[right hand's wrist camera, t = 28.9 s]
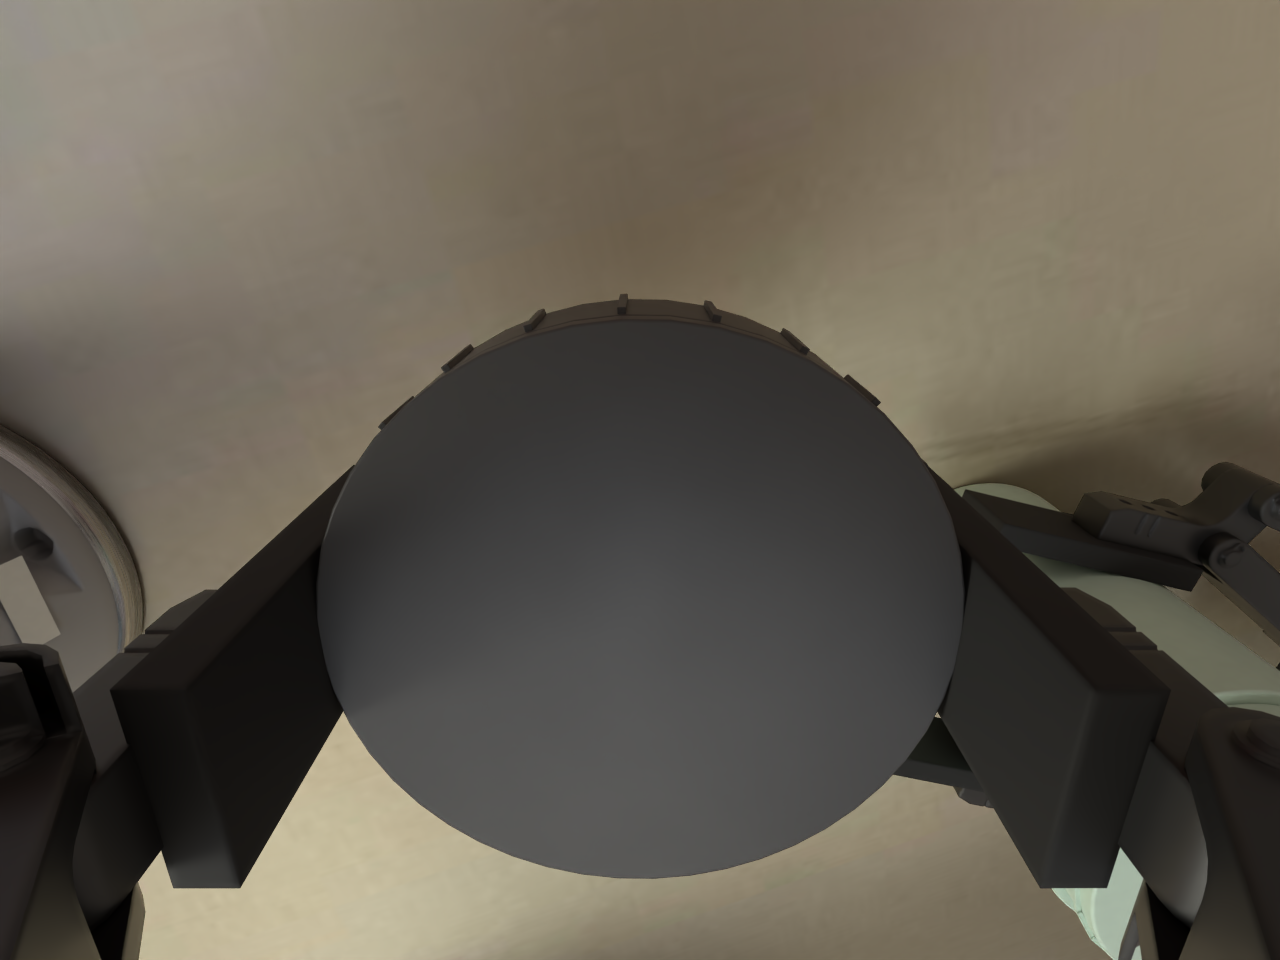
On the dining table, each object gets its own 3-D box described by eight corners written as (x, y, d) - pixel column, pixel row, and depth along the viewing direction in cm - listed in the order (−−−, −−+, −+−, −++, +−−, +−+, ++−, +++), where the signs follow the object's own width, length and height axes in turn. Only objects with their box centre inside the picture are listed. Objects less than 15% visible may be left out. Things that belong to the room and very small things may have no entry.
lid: (782, 841, 14) (803, 936, 12) (316, 713, 13) (262, 796, 11) (1024, 416, 11) (1101, 458, 9) (437, 199, 10) (391, 198, 8)
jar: (954, 683, 32) (1193, 1044, 19) (837, 574, 30) (1008, 888, 16) (1108, 568, 30) (1508, 878, 16) (994, 442, 28) (1341, 676, 14)
